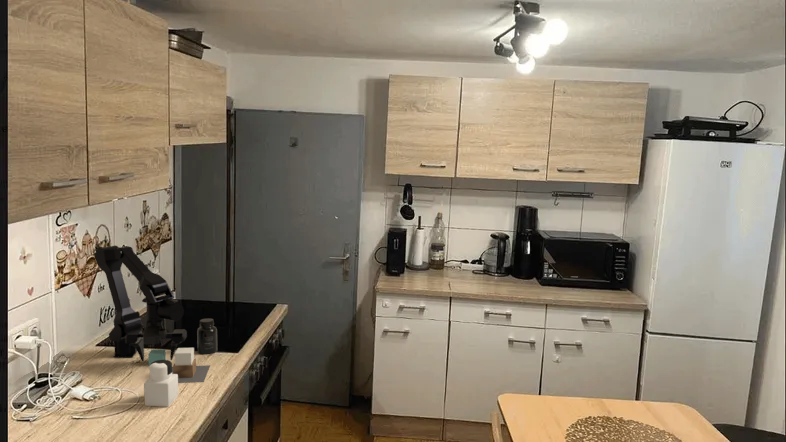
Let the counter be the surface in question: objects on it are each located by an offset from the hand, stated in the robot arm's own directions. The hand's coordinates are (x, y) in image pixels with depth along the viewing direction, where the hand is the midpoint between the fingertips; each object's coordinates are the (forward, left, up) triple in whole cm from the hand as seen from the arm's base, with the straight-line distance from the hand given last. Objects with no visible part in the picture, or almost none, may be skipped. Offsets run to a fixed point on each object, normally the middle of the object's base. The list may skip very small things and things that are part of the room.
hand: (157, 360), depth 197 cm
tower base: (+11, -11, -1) cm, 16 cm away
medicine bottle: (+8, -30, -2) cm, 31 cm away
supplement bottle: (+15, +10, -2) cm, 18 cm away
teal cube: (0, 0, -1) cm, 1 cm away
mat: (+11, -11, -1) cm, 16 cm away
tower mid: (+11, -11, +3) cm, 16 cm away
